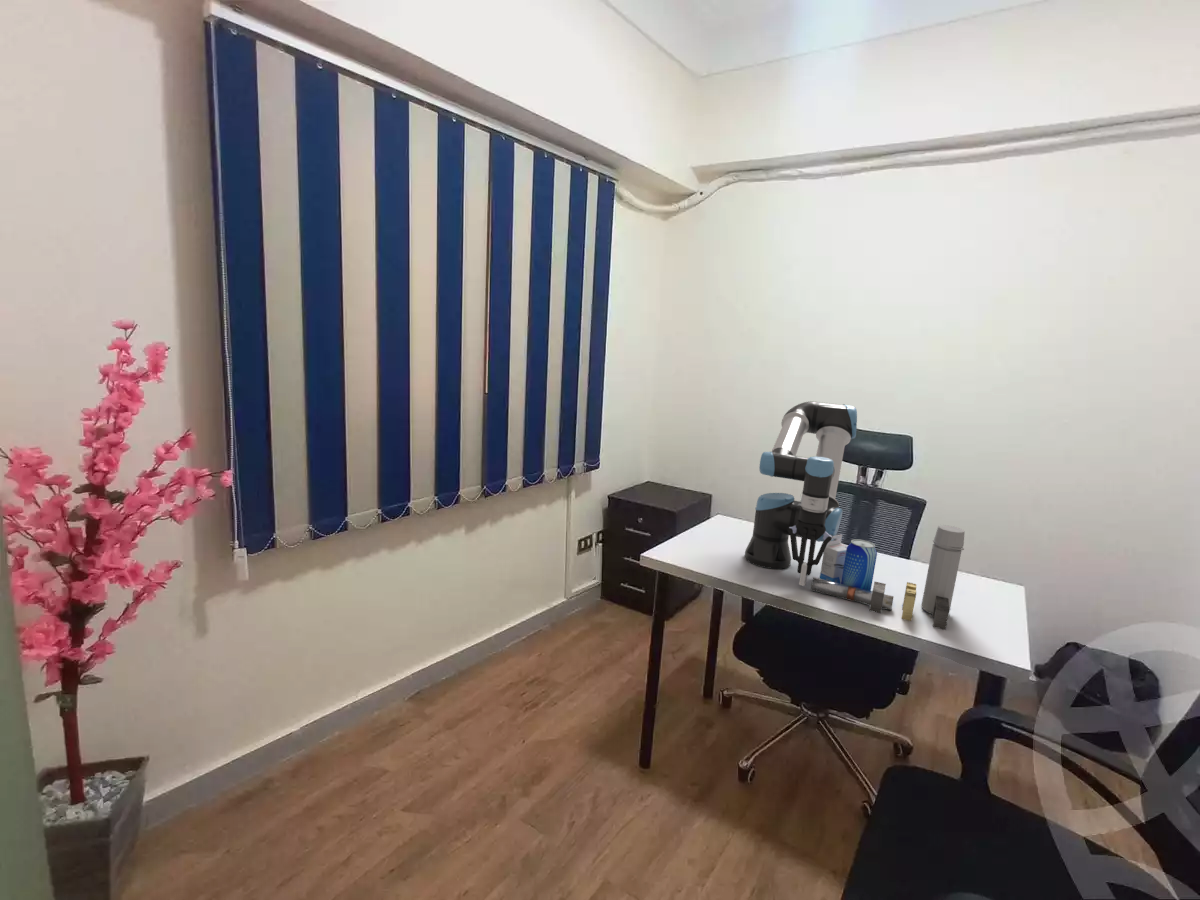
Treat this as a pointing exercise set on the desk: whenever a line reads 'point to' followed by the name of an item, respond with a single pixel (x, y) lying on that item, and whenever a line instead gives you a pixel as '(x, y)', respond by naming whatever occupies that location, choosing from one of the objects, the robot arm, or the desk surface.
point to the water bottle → (943, 565)
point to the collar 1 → (877, 597)
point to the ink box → (833, 560)
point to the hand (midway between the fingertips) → (802, 583)
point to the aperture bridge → (909, 601)
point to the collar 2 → (940, 612)
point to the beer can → (859, 564)
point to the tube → (848, 592)
